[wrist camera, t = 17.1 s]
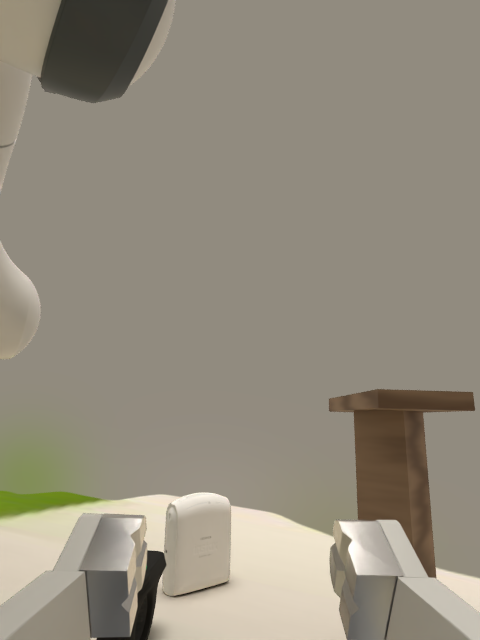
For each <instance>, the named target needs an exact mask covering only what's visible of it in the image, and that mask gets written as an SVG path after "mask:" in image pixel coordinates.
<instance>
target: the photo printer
mask: <svg viewBox="0 0 480 640" xmlns="http://www.w3.org/2000/svg"><path fill="white" fill-rule="evenodd" d="M230 547H231V506H230V503H229V500H228V499H227V498H226V497H224V496H221V495H218V494H214V493H194V494H190V495H187V496H184V497H181V498H179V499H177V500H175V501H173V502H171V503H170V504H169V506H168V508H167V512H166V527H165V545H164V556H165V560H166V564H167V565H166V567H165V569H164V571H163V581H162V584H163V592H164V593H165V594H167V595H169V596H176V595H180V594H185V593H189V592H192V591H196V590H200V589H203V588H207V587H210V586H214V585H217V584H221V583H224V582H226V581H228V580H229V577H230Z"/></svg>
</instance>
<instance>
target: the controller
mask: <svg viewBox="0 0 480 640" xmlns="http://www.w3.org/2000/svg"><path fill="white" fill-rule="evenodd" d="M166 565H167V564H166V560H165V556H164V553H162V552H159V551H147V564H146V571H145V577H144V582H143V586H142V589H141V590H140V591H139V592H138V593H137V603H138V607H137V612H136V616H135V620H134V624H133V628H132V632H131V636H130V637H97V640H147V639H148V635H149V632H150V628H151V624H152V620H153V615H154V609H155V603H156V594H157V587H158V582H159V579H160V577H161V575H162V573H163V571H164V569H165V567H166Z"/></svg>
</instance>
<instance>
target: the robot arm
mask: <svg viewBox="0 0 480 640" xmlns="http://www.w3.org/2000/svg"><path fill="white" fill-rule="evenodd" d="M175 4H176V0H0V193H1V189H2V185H3V181H4V177H5V174H6V170H7V167H8V163H9V160H10V157H11V154H12V151H13V148H14V145H15V142H16V139H17V135H18V132H19V128H20V125H21V122H22V119H23V115H24V111H25V107H26V103H27V99H28V95H29V89H30V84H31V79H32V75H35V76H37V77H38V79H39V81H40V82H41V85H42V88H43V89H44V90H45V91H46V92H50V93H54V94H55V93H57V94H60V95H64V96H67V97H70V98H74V99H77V100H81V101H86V102H90V103H96V102H102V101H107V100H111V99H115V98H120V97H121V96H122V95H123V94H124V93H125V91H126V90H127V88H128V86H130V85H131V84H133V83H134V82H135V81H137V80H138V79H139V78H140V77H141V76H142V75H143V74H144V73H145V72H146V71H147V70H148V68H149V67H150V66H151V65H152V64H153V62H154V61H155V59H156V57H157V56H158V54H159V52H160V51H161V49H162V47H163V45H164V43H165V40H166V38H167V35H168V32H169V29H170V26H171V23H172V19H173V14H174V8H175ZM40 316H41V306H40V300H39V296H38V293H37V291H36V289H35V287H34V285H33V283H32V282H31V281H30V279H29V278H28V277H27V276H26V275H25V274H24V273H23V272H22V271H20V270H19V269H18V268H17V267H16V266H15V264H14V263H13V262H12V261H11V259H10V258H9V256H8V255H7V253H6V251H5V250H4V248H3V246H2V243H1V241H0V360H4V359H10V358H12V357H14V356H15V355H17V354H18V353H19V352H21V351H22V350H23V349H24V348H25V347H26V346H27V345H28V344H29V342H30V341H31V340H32V338H33V336H34V335H35V333H36V331H37V328H38V325H39V322H40ZM146 529H147V526H146V517H145V516H144V515H122V514H91V513H83V514H82V515H81V516H80V517H79V519H78V521H77V523H76V525H75V527H74V529H73V531H72V533H71V535H70V537H69V539H68V541H67V543H66V545H65V547H64V549H63V551H62V553H61V555H60V557H59V559H58V561H57V563H56V565H55V567H54V569H53V571H45V572H44V573H43V574H41V575H40V576H39V577H37V578H36V579H35V580H33V581H32V582H31V583H29V584H28V585H27V586H26V587H24V588H23V589H22V590H20V591H19V592H18V593H16V594H15V595H14V596H12V597H11V598H10V599H9V600H7V601H6V602H5V603H3V604H2V605H1V606H0V640H91V639H90V638H97V637H130V636H131V632H132V628H133V624H134V620H135V616H136V612H137V607H138V603H137V593H138V592H139V591H140V590H141V589H142V586H143V582H144V577H145V571H146V564H147V543H146V542H145V541H144V537H145V533H146ZM333 536H334V539H335V544H334V545H333V546H332V547H331V549H330V574H331V580H332V585H333V589H334V592H335V593H336V594H337V595H338V596H339V597H340V598H341V599H340V607H339V612H340V616H341V619H342V623H343V627H344V630H345V634H346V638H347V640H480V613H479V612H478V611H477V610H476V609H474V608H473V607H472V606H470V605H469V604H468V603H467V602H465V601H464V600H463V599H462V598H460V597H459V596H458V595H456V594H455V593H454V592H453V591H451V590H450V589H449V588H447V587H446V586H445V585H444V584H442V583H441V582H440V581H439V580H437V579H436V578H429V577H428V575H427V573H426V572H425V570H424V568H423V566H422V564H421V562H420V560H419V558H418V557H417V555H416V553H415V551H414V549H413V547H412V545H411V543H410V541H409V540H408V538H407V536H406V534H405V532H404V530H403V528H402V526H401V525H400V523H399V522H398V521H397V520H335V523H334V526H333Z"/></svg>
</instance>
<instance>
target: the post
mask: <svg viewBox="0 0 480 640" xmlns="http://www.w3.org/2000/svg"><path fill="white" fill-rule="evenodd" d="M474 410H475V407H474V398H473V392H450V391H417V390H384V389H377V390H371V391H367V392H361V393H356V394H352V395H346V396H341V397H336V398H330V399H329V411H330V412H332V411H333V412H354V428H355V453H356V477H357V478H356V479H357V503H358V520H397V521H398V522H399V523H400V525H401V526H402V528H403V530H404V532H405V534H406V536H407V538H408V540H409V541H410V543H411V545H412V547H413V549H414V551H415V553H416V555H417V557H418V558H419V560H420V562H421V564H422V566H423V568H424V570H425V572H426V573H427V575H428V577H429V578H436V568H435V557H434V544H433V531H432V520H431V506H430V494H429V482H428V469H427V457H426V445H425V432H424V419H423V412H451V411H474Z"/></svg>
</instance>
